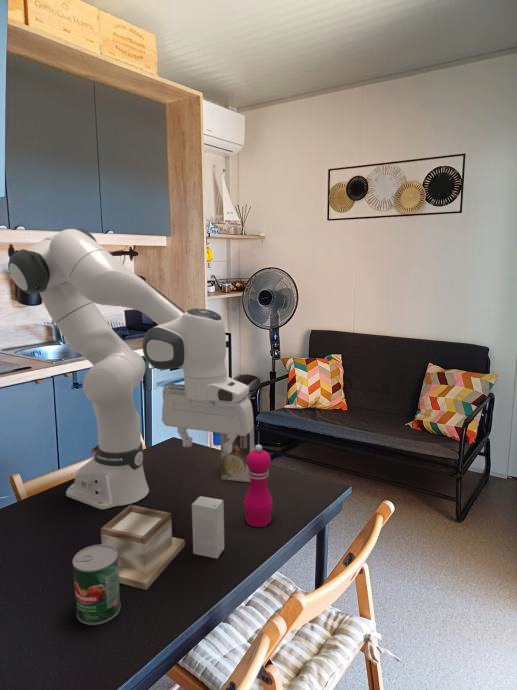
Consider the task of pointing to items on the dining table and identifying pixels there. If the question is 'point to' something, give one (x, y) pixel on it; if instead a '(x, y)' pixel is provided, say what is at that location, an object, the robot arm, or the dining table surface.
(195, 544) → the skincare box
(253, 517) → the pepper mill
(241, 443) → the coffee box
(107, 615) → the canned tomato
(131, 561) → the display stand
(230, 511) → the dining table surface
